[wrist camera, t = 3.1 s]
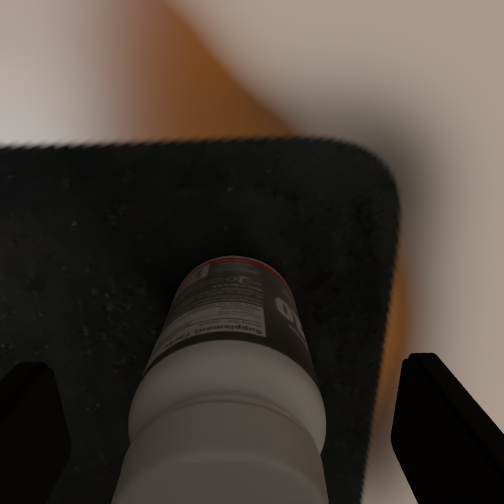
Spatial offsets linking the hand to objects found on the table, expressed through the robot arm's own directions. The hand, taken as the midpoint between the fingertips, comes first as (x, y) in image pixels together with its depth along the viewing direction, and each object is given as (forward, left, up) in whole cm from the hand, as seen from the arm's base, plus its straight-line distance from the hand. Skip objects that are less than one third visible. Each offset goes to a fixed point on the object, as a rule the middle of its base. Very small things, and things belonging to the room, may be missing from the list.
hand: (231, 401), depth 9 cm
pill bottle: (0, 0, -5) cm, 5 cm away
